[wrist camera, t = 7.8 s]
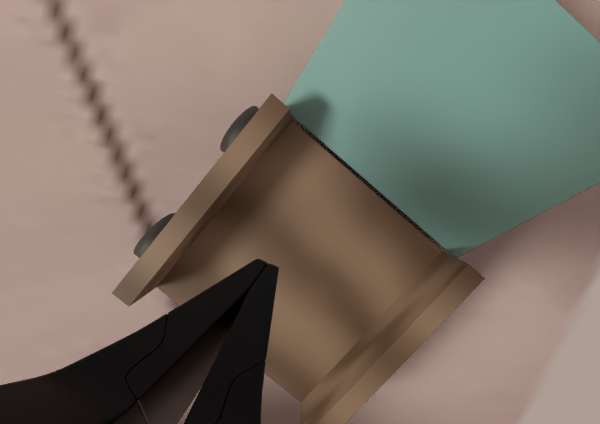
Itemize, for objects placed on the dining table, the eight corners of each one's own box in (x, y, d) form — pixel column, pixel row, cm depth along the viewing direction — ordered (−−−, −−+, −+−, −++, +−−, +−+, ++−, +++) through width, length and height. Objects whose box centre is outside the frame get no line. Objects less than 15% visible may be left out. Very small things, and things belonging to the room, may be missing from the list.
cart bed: (324, 396, 22) (331, 466, 17) (148, 254, 21) (94, 279, 16) (449, 263, 21) (500, 292, 16) (267, 105, 20) (253, 77, 15)
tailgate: (455, 257, 19) (693, 132, 12) (281, 106, 18) (422, -128, 11) (454, 238, 20) (661, 118, 13) (295, 99, 19) (425, -108, 12)
